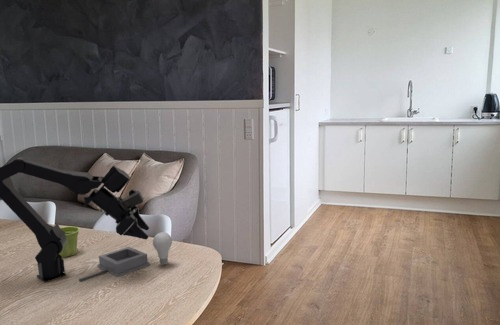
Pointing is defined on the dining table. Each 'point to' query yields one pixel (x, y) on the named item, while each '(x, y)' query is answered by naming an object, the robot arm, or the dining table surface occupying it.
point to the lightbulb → (162, 246)
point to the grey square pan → (120, 262)
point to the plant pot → (70, 241)
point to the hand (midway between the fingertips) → (148, 233)
